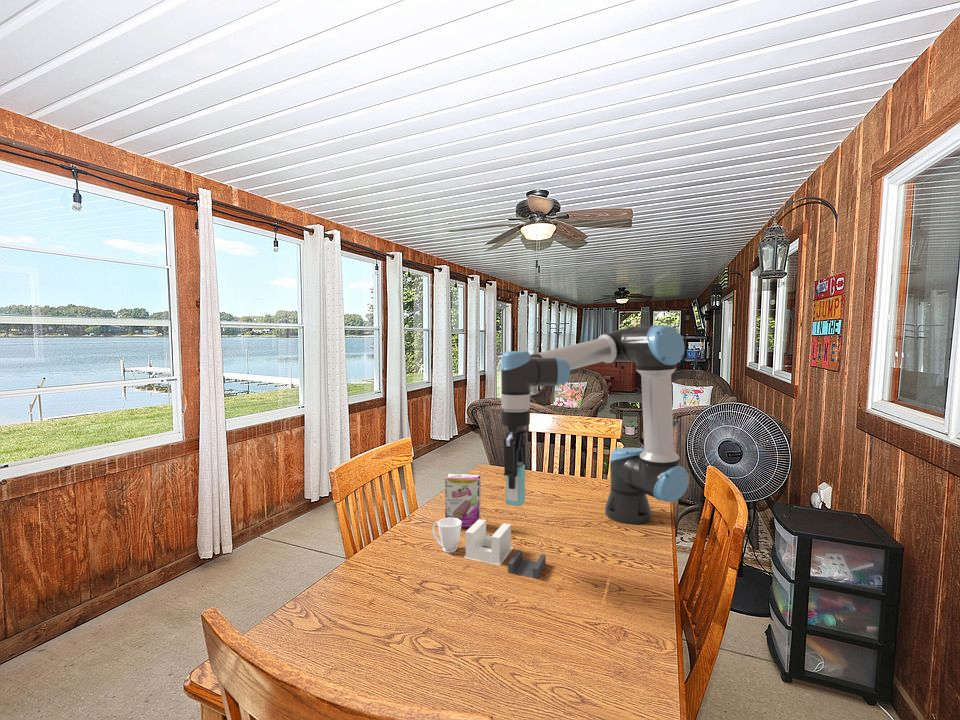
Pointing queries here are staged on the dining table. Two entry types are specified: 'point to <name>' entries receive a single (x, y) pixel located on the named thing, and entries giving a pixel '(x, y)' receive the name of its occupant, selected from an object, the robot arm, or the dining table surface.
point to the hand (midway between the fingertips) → (515, 496)
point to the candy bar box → (463, 498)
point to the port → (488, 543)
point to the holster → (526, 565)
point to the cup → (448, 533)
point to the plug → (520, 486)
